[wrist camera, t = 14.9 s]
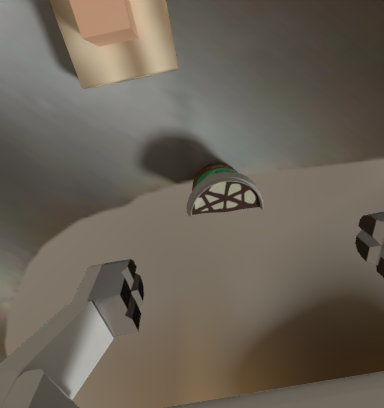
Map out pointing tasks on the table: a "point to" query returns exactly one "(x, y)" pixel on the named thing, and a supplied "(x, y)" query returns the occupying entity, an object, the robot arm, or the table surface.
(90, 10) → the terracotta block
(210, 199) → the food container
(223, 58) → the table surface
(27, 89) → the table surface
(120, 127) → the table surface
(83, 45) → the birch plinth
